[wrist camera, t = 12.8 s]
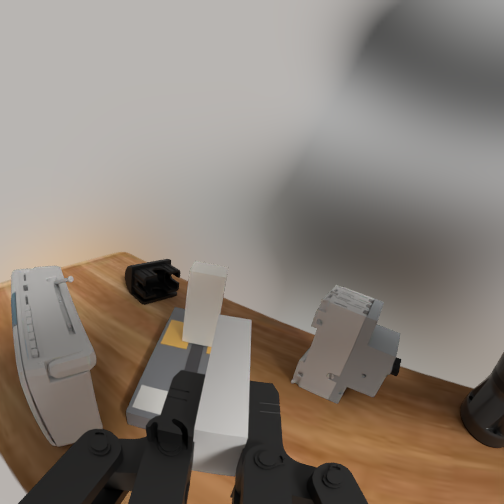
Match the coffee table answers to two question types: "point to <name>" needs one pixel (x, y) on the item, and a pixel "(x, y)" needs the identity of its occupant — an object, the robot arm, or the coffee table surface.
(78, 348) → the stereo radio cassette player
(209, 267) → the slider tab
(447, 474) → the coffee table surface
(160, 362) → the grey flat board
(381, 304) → the circuit breaker
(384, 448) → the coffee table surface
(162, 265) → the end cap
